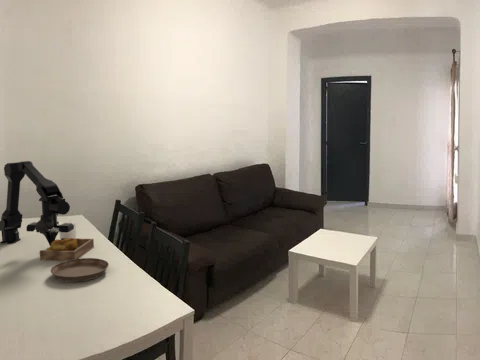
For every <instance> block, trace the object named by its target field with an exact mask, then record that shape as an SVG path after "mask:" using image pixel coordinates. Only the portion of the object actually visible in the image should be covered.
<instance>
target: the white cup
mask: <svg viewBox="0 0 480 360" xmlns="http://www.w3.org/2000/svg"><path fill="white" fill-rule="evenodd" d="M64 223H72V224H73V225H74V229H73V230H71V231H70V232H58V234H59V238H60V239H59V240H61V238H77V221H75V220H65V221H60V222H59V224H57V225H62V224H64Z"/></svg>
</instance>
